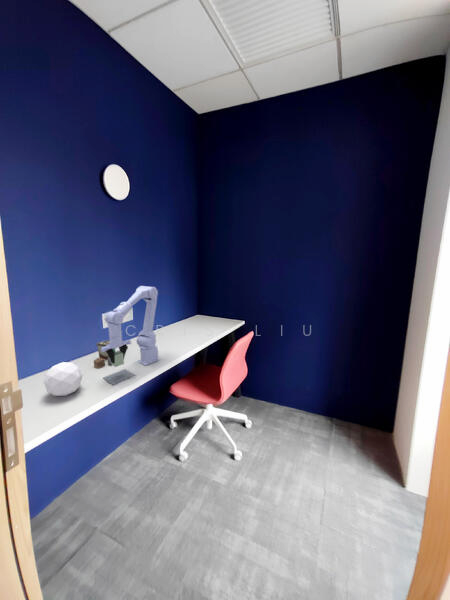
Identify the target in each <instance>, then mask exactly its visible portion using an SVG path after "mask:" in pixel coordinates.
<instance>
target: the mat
mask: <svg viewBox="0 0 450 600" xmlns="http://www.w3.org/2000/svg"><path fill="white" fill-rule="evenodd" d="M133 376H134V377H136V375H135V374H134V373H133V372H131V371H129V370H127V369H126V368H124V369H121V370H119V371H117V372H116V371H115V372H114V373H111V374H109V375H106V376H104V377H102V379H103V380H104V381H105V382H107V383H109V384H110V385H111V386H114V385H117V384H120V383H122V382H124V381H127V380H129V379H131V377H132V378H134V377H133ZM126 379H127V380H126Z"/></svg>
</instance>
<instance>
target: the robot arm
mask: <svg viewBox="0 0 450 600" xmlns="http://www.w3.org/2000/svg"><path fill="white" fill-rule="evenodd" d="M158 295H159V291H158V289H157V288H156V286H148V285H147V286H145V285H140V286H138V287H137V288H136V290H135V292H134V293H133V294H131V297H129V298H128V300H127V301H123V302H120V303H119V305H117V307H116V308H114V309H113V310H112V311H109V312H107V313H106V315H105V318H104V321H105V322H106V324H107V328H108V336H109V341H110V344H109V345H106V346H104V347H102V348H101V352H105V351H106V352H107V354H108V355H109V357H110V360H111V363H115V360H114V354H115V352H116V351H115V352H114V351H113V350H112V349H114V348H115V349H118V351H120V352H122V353H123V358H124V359H125V358H126V357H125V356H126V353H127V350H128V347H129V346H128V345H132V341H131V340H130V339H126V340H125V339H124V340H123V334H122V333H123V332H122V323H123V321H124V318H125V317H126V316H127V314H128V313H130V312H131V311H132V307H133V306H134V305H136V304H137V303H138V302H139V301H141V299H142V300H144V301H145V302H146V307H145V313H144V319H143V327H142V330H140V331H139V333H138V336H137V338H136V344H137V345H138V347H139V351H140V359H139V360H137V362H138V363H140V364H142V365H144V366H148V365H150V364H153V363H155V362H159V361H160V358H159V349H158V346H157V345H156V342H157V340H156V337H157V336H156V334H155V333H154V331H153V329H154V322H155V316H156V310H157V303H158Z"/></svg>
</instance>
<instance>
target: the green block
mask: <svg viewBox="0 0 450 600" xmlns="http://www.w3.org/2000/svg"><path fill="white" fill-rule="evenodd" d="M114 360H115V363H111V364H112V365H111V366H113V367H115V368H117V367H119V366H122V365H124V364H125V357H124V358H123V353H122V352H120V350H115V354H114Z"/></svg>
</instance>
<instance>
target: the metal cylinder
mask: <svg viewBox="0 0 450 600" xmlns="http://www.w3.org/2000/svg"><path fill="white" fill-rule="evenodd" d="M107 365H108V366H113V365H112V364H111V360H110V357H108V360H107Z"/></svg>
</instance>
